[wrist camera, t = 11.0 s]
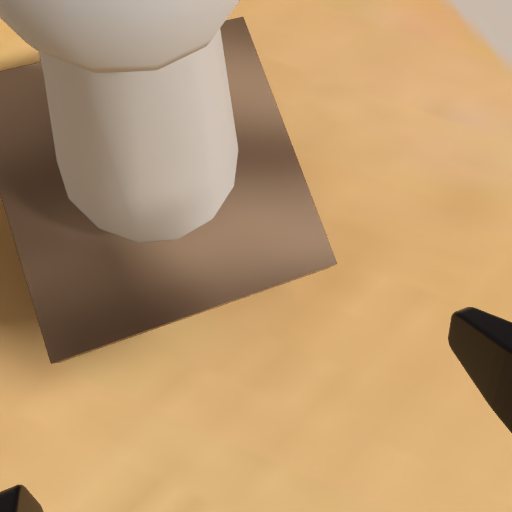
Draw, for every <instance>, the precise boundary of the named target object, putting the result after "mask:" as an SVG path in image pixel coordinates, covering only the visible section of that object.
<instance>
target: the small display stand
mask: <svg viewBox="0 0 512 512" xmlns="http://www.w3.org/2000/svg"><path fill="white" fill-rule="evenodd" d="M220 30H221V37H222V44H223V50H224V57H225V64H226V70H227V77H228V84H229V90H230V97H231V103H232V110H233V117H234V123H235V130H236V137H237V143H238V156H237V165H236V173H235V182H234V187H233V188H232V190H231V191H230V193H229V194H228V196H227V198H226V199H225V201H224V202H223V204H222V205H221V207H220V208H219V210H218V212H217V213H216V215H215V216H214V218H213V219H212V220H210V221H209V222H207V223H205V224H203V225H202V226H200V227H198V228H197V229H195V230H193V231H191V232H190V233H188V234H186V235H185V236H183V237H181V238H180V239H175V240H164V241H154V242H144V243H139V242H136V241H133V240H130V239H127V238H124V237H121V236H119V235H116V234H113V233H110V232H107V231H104V230H102V229H100V228H98V227H97V226H96V225H95V224H94V223H93V222H92V221H91V220H90V219H89V218H88V217H87V216H86V215H85V214H84V213H83V212H82V211H81V210H80V209H79V208H78V207H77V206H76V205H75V204H74V203H73V202H72V201H71V200H70V199H69V198H68V195H67V192H66V189H65V186H64V182H63V179H62V176H61V173H60V170H59V167H58V163H57V159H56V152H55V146H54V139H53V133H52V126H51V120H50V113H49V106H48V100H47V93H46V87H45V80H44V74H43V69H42V64H41V62H39V63H35V64H30V65H26V66H21V67H17V68H12V69H8V70H4V71H0V194H1V198H2V201H3V205H4V208H5V211H6V215H7V218H8V221H9V225H10V228H11V231H12V235H13V238H14V241H15V245H16V248H17V252H18V255H19V258H20V262H21V265H22V268H23V272H24V275H25V278H26V282H27V285H28V288H29V292H30V295H31V299H32V302H33V305H34V309H35V312H36V315H37V319H38V322H39V325H40V329H41V332H42V335H43V339H44V342H45V345H46V349H47V352H48V356H49V359H50V362H51V364H52V363H58V362H62V361H65V360H68V359H70V358H73V357H76V356H79V355H82V354H85V353H87V352H90V351H93V350H96V349H99V348H102V347H105V346H107V345H110V344H113V343H116V342H119V341H122V340H125V339H127V338H130V337H133V336H136V335H139V334H142V333H145V332H147V331H150V330H153V329H156V328H159V327H162V326H165V325H167V324H170V323H173V322H176V321H179V320H182V319H185V318H187V317H190V316H193V315H196V314H199V313H202V312H205V311H207V310H210V309H213V308H216V307H219V306H222V305H225V304H227V303H230V302H233V301H236V300H239V299H242V298H245V297H247V296H250V295H253V294H256V293H259V292H262V291H264V290H267V289H270V288H273V287H276V286H279V285H282V284H284V283H287V282H290V281H293V280H296V279H299V278H302V277H304V276H307V275H310V274H313V273H316V272H319V271H322V270H324V269H327V268H330V267H331V266H333V265H335V264H337V262H336V259H335V256H334V254H333V251H332V249H331V246H330V243H329V241H328V238H327V235H326V233H325V230H324V228H323V225H322V222H321V220H320V217H319V214H318V212H317V209H316V207H315V204H314V201H313V199H312V196H311V193H310V191H309V188H308V186H307V183H306V180H305V178H304V175H303V172H302V170H301V167H300V165H299V162H298V159H297V157H296V154H295V151H294V149H293V146H292V144H291V141H290V138H289V136H288V133H287V130H286V128H285V125H284V123H283V120H282V117H281V115H280V112H279V109H278V107H277V104H276V102H275V99H274V96H273V94H272V91H271V88H270V86H269V83H268V81H267V78H266V75H265V73H264V70H263V67H262V65H261V62H260V60H259V57H258V54H257V52H256V49H255V46H254V44H253V41H252V39H251V36H250V33H249V31H248V28H247V25H246V23H245V20H244V18H243V17H240V18H235V19H231V20H226V21H225V22H224V23H223V25H222V26H221V27H220Z"/></svg>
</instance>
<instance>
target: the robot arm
mask: <svg viewBox="0 0 512 512" xmlns="http://www.w3.org/2000/svg"><path fill="white" fill-rule="evenodd" d="M448 341H449V345H450V347H451V349H452V351H453V352H454V354H455V355H456V357H457V358H458V360H459V361H460V363H461V364H462V366H463V367H464V369H465V370H466V372H467V373H468V375H469V376H470V378H471V379H472V380H473V382H474V383H475V385H476V386H477V388H478V389H479V391H480V392H481V394H482V395H483V397H484V398H485V400H486V401H487V403H488V404H489V405H490V407H491V408H492V409H493V411H494V412H495V413H496V414H497V416H498V417H499V418H500V419H501V421H502V422H503V423H504V424H505V425H506V427H507V428H508V429H509V430H510V431H511V433H512V322H509V321H507V320H504V319H502V318H499V317H497V316H494V315H492V314H489V313H486V312H484V311H481V310H479V309H476V308H473V307H467V308H464V309H462V310H459V311H456V312H454V313H453V315H452V317H451V322H450V329H449V335H448ZM0 512H43V509H42V507H41V505H40V504H39V503H38V501H37V500H36V499H35V498H34V497H33V496H32V494H31V493H30V492H29V491H28V490H27V489H26V487H24V486H23V485H16V486H14V487H11V488H9V489H6V490H4V491H1V492H0Z"/></svg>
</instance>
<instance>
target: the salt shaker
mask: <svg viewBox="0 0 512 512" xmlns="http://www.w3.org/2000/svg"><path fill="white" fill-rule="evenodd" d="M239 1H240V0H0V18H1V19H2V20H3V21H4V22H5V23H6V24H7V25H8V26H10V27H11V28H12V29H13V30H14V31H15V32H16V33H17V34H18V35H19V36H20V37H21V38H22V39H23V40H24V41H25V42H26V43H28V44H29V45H30V46H32V47H33V48H34V49H36V50H37V51H39V55H40V60H41V64H42V69H43V74H44V80H45V87H46V93H47V100H48V106H49V113H50V120H51V126H52V133H53V139H54V146H55V152H56V159H57V163H58V167H59V170H60V173H61V176H62V179H63V182H64V186H65V189H66V192H67V195H68V198H69V199H70V200H71V201H72V202H73V203H74V204H75V205H76V206H77V207H78V208H79V209H80V210H81V211H82V212H83V213H84V214H85V215H86V216H87V217H88V218H89V219H90V220H91V221H92V222H93V223H94V224H95V225H96V226H97V227H98V228H100V229H102V230H104V231H107V232H110V233H113V234H116V235H119V236H121V237H124V238H127V239H130V240H133V241H136V242H139V243H144V242H154V241H164V240H175V239H180V238H181V237H183V236H185V235H186V234H188V233H190V232H191V231H193V230H195V229H197V228H198V227H200V226H202V225H203V224H205V223H207V222H209V221H210V220H212V219H213V218H214V216H215V215H216V213H217V212H218V210H219V208H220V207H221V205H222V204H223V202H224V201H225V199H226V198H227V196H228V194H229V193H230V191H231V190H232V188H233V187H234V182H235V173H236V165H237V156H238V143H237V137H236V130H235V123H234V117H233V110H232V103H231V97H230V90H229V84H228V77H227V70H226V64H225V57H224V50H223V44H222V37H221V30H220V27H221V26H222V25H223V23H224V22H225V20H226V19H227V18H228V16H229V15H230V13H231V12H232V11H233V9H234V8H235V6H236V5H237V4H238V2H239Z"/></svg>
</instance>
